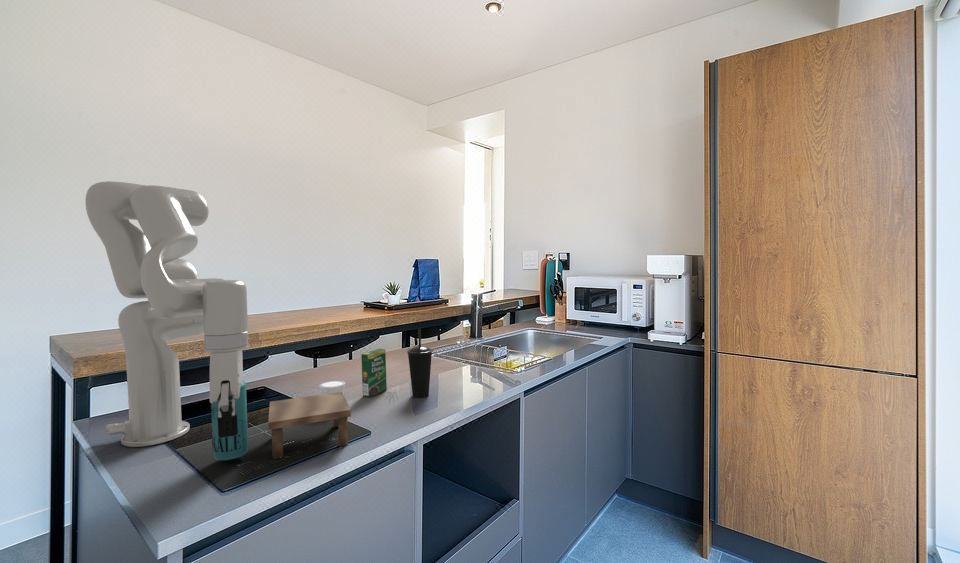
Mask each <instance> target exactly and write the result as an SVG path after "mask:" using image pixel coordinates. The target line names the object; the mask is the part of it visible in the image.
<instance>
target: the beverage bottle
mask: <svg viewBox="0 0 960 563" xmlns="http://www.w3.org/2000/svg"><path fill="white" fill-rule="evenodd" d="M229 399H233V396H229ZM218 402H219V397H218V399H217V402H215V403H214V404H212V403H210V412H211V416H210V418H211V420H210V421H211V423H210V424H211V426H210V427H211V438H212V439H211V444H212V446H211V447H212V448H211V449H212V452H211V453H212V456H213V458H214V459H215V460H217V461H229V460H234V459H237V458H240V457H242V456H243V455H245V454H247V453H248V451H249V428H248V427H249V426H248V424H249V422H248V407H247V382H246V381H244V379H242V383H241V388H240V396H239V399H237V400H236V402H235V414H237V424H238V434H237V435H234V436H228V437H222V438H219V436H218V407H219V403H218ZM229 405H231V406H232V403H229Z"/></svg>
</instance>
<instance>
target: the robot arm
mask: <svg viewBox="0 0 960 563" xmlns="http://www.w3.org/2000/svg"><path fill="white" fill-rule="evenodd" d="M85 210H86V214H87V217H88V218H87V219H89V223H90V224H91V226H92V228H93V230H94V231H95V233H96V234H97V236H98V237H99V239H100V241H101V242H102V244H103V246H104V249H105V251H106V255H107V258H108V262H109V266H110V269H111V273H112V275H113V279H114V283H115V285H116V288H117V290H118V292H119V294H121V295H122V296H123V297H124V298H127V299H133V300H134V299H136V300H138V299H147V300H145V301H138V302H133V303H131V304H128V305H127V306H126V307H124V308H122V309H121V311H120V313H119V315H118V320H117V321H118V328H119V332H120V335H121V336H120V337H121V338H122V342H123V348H124V354H125V363H126V364H125V365H126V380H127V381H126V382H127V384H126V385H127V399H128V401H127V402H128V420H124V422H121V423H120V422H119V423H117V422H116V423H115V422H114V423H109V424H106V426H105V433H106V434H108V435H109V436H113V435H118V434H122V437H121V438H120V443H121V445H123V446H125V447H128V448H129V447H131V448H140V447H142V448H143V447H148V446H155V445H159V444H163V443H167V442H170V441H173V440H175V439H178V438H181V437H182V436H184V435H186V433H188V432H189V431H190V430H191V429H190V428H191V427H190V426H191V425H190V423H189V422H188V421H184V420H182V404H181V403H182V402H181V401H182V400H181V380H180V379H181V376H180V360H179V357H178V354H177V353H176V351H175V350H174V349H173V348H172V347H170V345H169V344H168V343H167V341H170V340H174V339H180V338H181V339H182V338H187V337H193V336H199V335H201V334H203V342H204V352H205V353H210V355H209V403H210V404H211V403H212V404H214V403H215V402H217V399H218V397H219V402H218V403H219V407H218V436H219V438H222V437H228V436H234V435H237V434H238V424H237V414H235V402H236V400H237V399H239V396H240V388H241V383H242V380H244V379H243V376H244V373H243V370H244V369H243V364H244V363H243V362H244V361H243V350H245V349H248V348H249V346H250V345H249V326H248V324H249V322H248V297H247V295H248V292H247V286H246V284H245V282H243V281H242V280H239V279H238V280H236V279H222V278H213V277H212V278H200V277H199V274H198V271H197V269H196V267H194V265H193V264H192V263H190V261H187V260H186V259H183V257H185V256H186V255H188V254H190V253H191V252H193V251H194V250H195V249H196V248H197V246H198V242H199V239H198V236H197V233H196V232H195V230H194V228H193V227H198V226H202V225H203V224H205V223H206V221H208V217H209V214H210V213H209V212H210V211H209V206H208V203H207V201H206V200H205V198H204V197H203V196H202V194H200V193H198V192H197V191H195V190H189V189H184V188H176V187H170V186H165V185H164V186H163V185H145V184H139V183H132V182H124V181H100V182H99V181H98V182H96V183H94V184H92V185H91V186H89V188H88V189H87V191H86V194H85ZM130 220H134V221H137V222H138V224H139V226H140V228H141V229H140V228H139V227H138V226H136V225H134V224H133V223H132V222H131V221H130ZM229 396H233V399H229ZM229 403H232V406H231V405H229Z"/></svg>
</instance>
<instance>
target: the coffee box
mask: <svg viewBox="0 0 960 563" xmlns="http://www.w3.org/2000/svg"><path fill="white" fill-rule="evenodd" d="M386 355H387V354H386V349H384V348H376V349H374V350H370V351H367V352H365V353H362V354H361V379H362V384H361V385H362V397H364V398H371V397H374V396H375V395H378V394H381V393H383V392H386V391H387V390H388V385H387V360H386V359H387V358H386V357H387V356H386Z"/></svg>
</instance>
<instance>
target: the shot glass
mask: <svg viewBox="0 0 960 563" xmlns="http://www.w3.org/2000/svg"><path fill="white" fill-rule="evenodd" d="M318 386H319V387H318V388H319V395H322V394H329V393H336V392H342V393H343V395H344V397H345V398H346V382H345V381H343V380H329V381H324V382H321V383H320V384H319V385H318Z"/></svg>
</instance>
